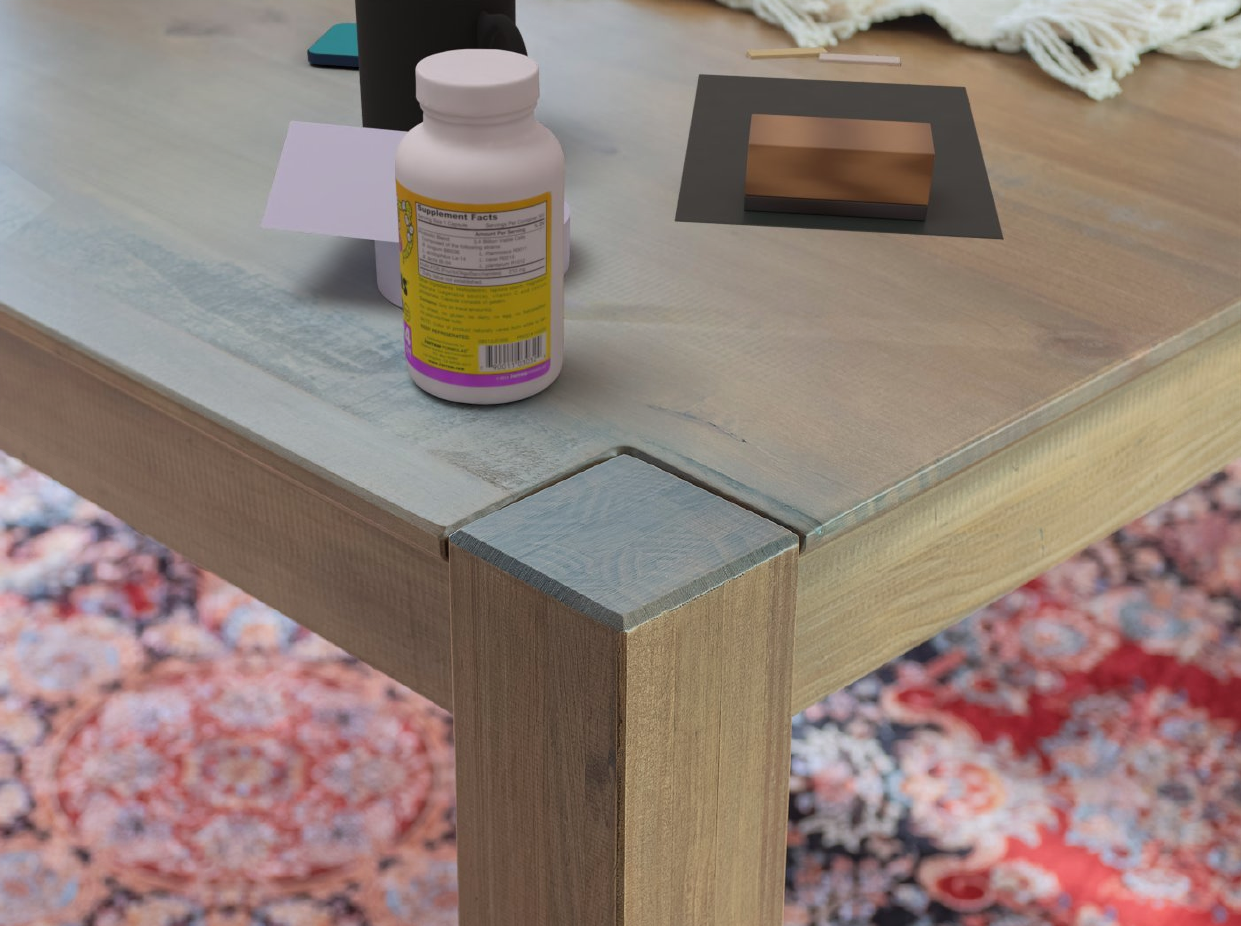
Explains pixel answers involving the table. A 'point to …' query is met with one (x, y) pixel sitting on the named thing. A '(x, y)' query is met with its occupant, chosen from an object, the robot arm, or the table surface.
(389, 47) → the mug
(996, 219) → the slate board
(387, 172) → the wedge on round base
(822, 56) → the chalk
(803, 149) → the eraser
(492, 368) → the supplement bottle
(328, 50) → the smartphone
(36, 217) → the table surface
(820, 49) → the chalk
